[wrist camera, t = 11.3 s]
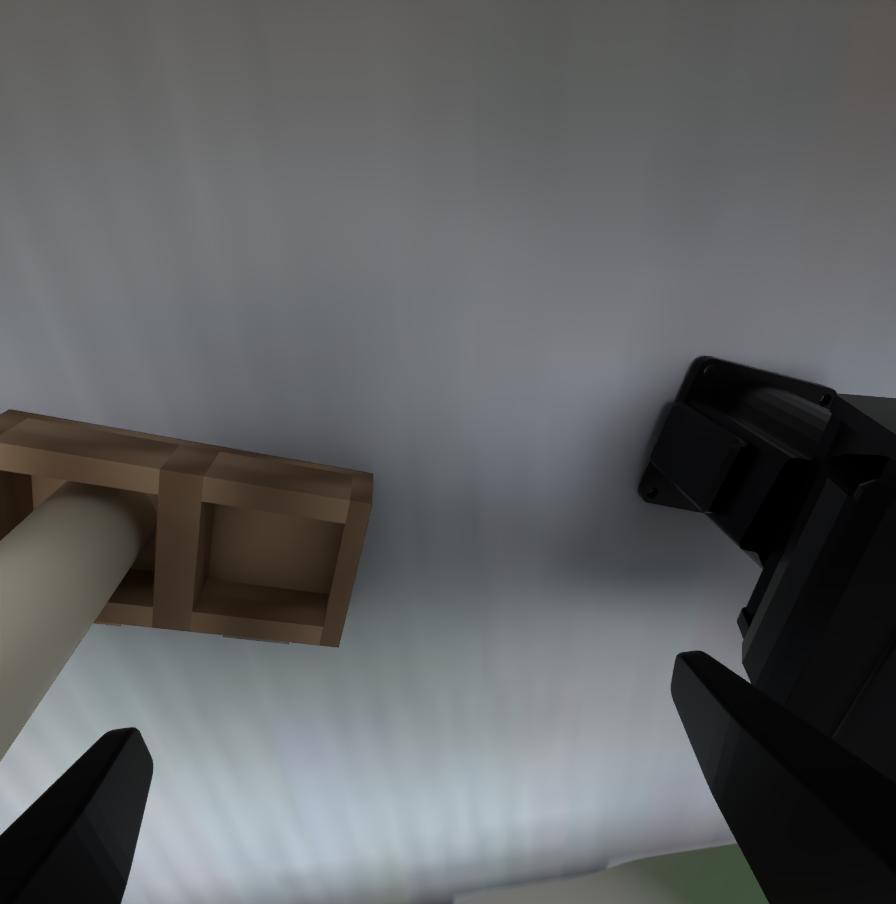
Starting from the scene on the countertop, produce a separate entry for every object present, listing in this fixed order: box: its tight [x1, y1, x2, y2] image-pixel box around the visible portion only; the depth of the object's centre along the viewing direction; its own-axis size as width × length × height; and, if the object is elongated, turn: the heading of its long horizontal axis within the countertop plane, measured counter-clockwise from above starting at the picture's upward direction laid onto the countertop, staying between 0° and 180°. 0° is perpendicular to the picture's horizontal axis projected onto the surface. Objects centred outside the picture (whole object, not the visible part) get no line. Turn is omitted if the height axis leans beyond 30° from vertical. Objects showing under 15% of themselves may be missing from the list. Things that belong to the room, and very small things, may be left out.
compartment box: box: [0, 410, 373, 647], centre depth 20 cm, size 13×7×2 cm, turn 75°
